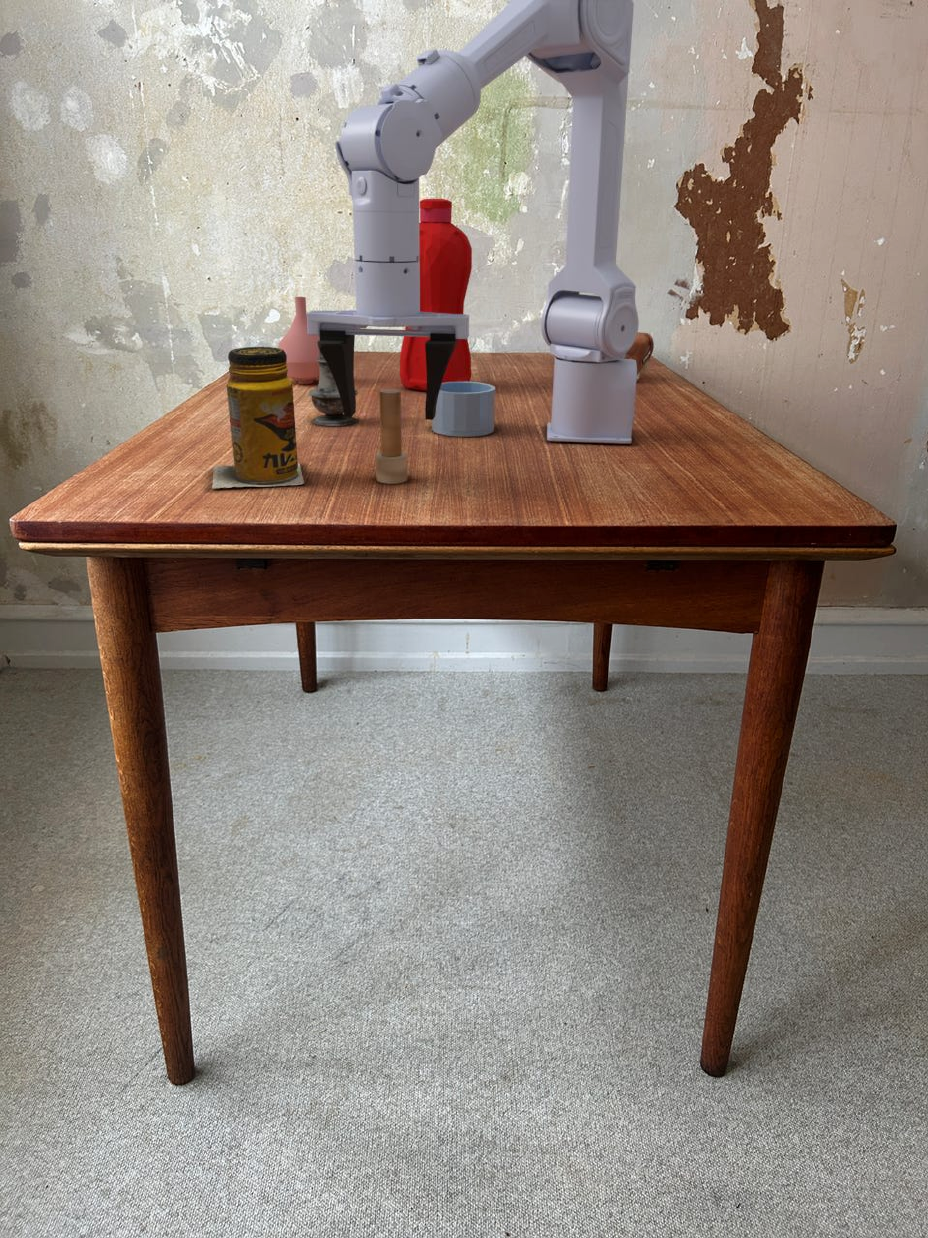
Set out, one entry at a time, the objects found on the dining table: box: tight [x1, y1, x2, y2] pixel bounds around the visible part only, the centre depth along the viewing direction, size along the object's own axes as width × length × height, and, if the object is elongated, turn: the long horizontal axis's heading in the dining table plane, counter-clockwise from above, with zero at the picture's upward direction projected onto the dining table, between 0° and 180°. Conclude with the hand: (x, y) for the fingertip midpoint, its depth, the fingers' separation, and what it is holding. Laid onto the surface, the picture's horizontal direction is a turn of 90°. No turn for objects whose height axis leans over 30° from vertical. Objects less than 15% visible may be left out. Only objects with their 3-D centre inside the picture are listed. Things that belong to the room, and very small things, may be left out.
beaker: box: [431, 381, 497, 438], centre depth 105 cm, size 7×7×5 cm
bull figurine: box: [624, 331, 655, 382], centre depth 139 cm, size 4×13×8 cm, turn 42°
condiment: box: [211, 346, 305, 489], centre depth 84 cm, size 7×8×12 cm
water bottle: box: [399, 198, 473, 392], centre depth 126 cm, size 9×11×25 cm
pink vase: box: [277, 296, 320, 385], centre depth 130 cm, size 8×8×12 cm
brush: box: [375, 388, 408, 485], centre depth 85 cm, size 3×3×8 cm
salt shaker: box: [308, 335, 359, 427], centre depth 106 cm, size 6×6×12 cm
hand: (390, 416), depth 84 cm, fingers open, 7 cm apart
